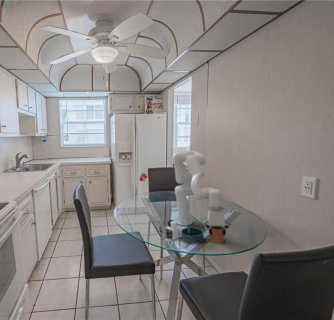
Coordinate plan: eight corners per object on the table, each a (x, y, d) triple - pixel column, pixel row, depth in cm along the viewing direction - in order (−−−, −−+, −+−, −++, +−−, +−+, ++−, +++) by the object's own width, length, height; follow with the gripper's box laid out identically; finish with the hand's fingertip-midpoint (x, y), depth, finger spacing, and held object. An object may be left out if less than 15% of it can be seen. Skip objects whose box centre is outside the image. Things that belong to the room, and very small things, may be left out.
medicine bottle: (166, 236, 153) (164, 220, 153) (173, 234, 156) (172, 218, 156) (172, 240, 147) (171, 223, 146) (180, 237, 150) (179, 221, 149)
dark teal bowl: (177, 239, 148) (176, 231, 148) (190, 233, 155) (190, 226, 155) (194, 246, 136) (193, 238, 136) (208, 239, 143) (207, 231, 143)
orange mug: (224, 243, 136) (223, 230, 135) (212, 243, 138) (211, 229, 138) (222, 236, 146) (221, 223, 145) (210, 236, 148) (209, 223, 148)
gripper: (229, 206, 140) (231, 233, 141) (200, 206, 145) (202, 231, 146) (231, 210, 132) (233, 238, 134) (201, 210, 138) (203, 236, 139)
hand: (217, 234), depth 140 cm, fingers closed on orange mug, 7 cm apart
